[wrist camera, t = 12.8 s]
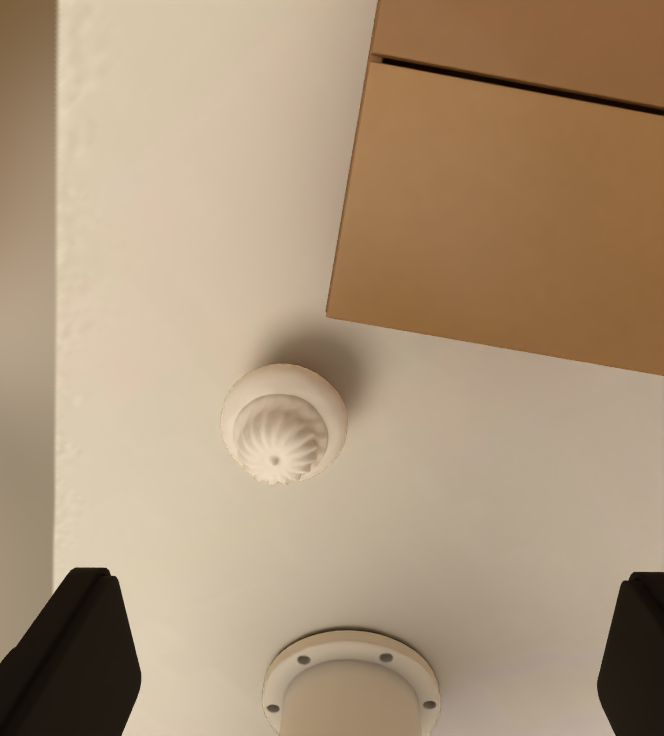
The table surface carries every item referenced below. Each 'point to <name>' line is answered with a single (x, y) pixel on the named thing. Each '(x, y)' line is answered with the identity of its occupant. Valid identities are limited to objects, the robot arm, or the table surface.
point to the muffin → (283, 423)
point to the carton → (530, 48)
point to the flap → (505, 220)
